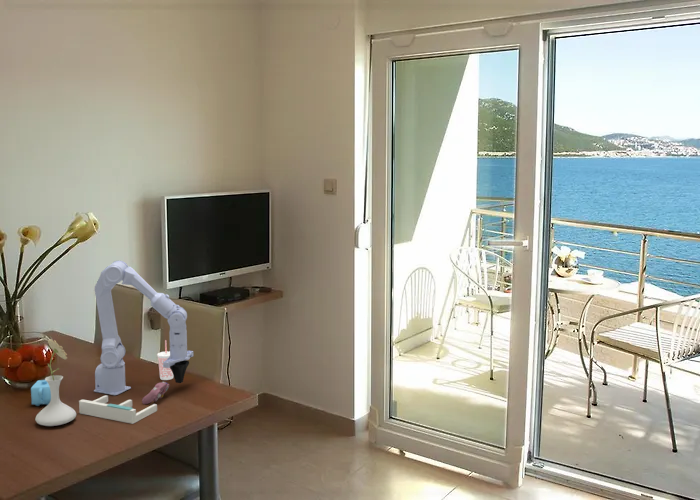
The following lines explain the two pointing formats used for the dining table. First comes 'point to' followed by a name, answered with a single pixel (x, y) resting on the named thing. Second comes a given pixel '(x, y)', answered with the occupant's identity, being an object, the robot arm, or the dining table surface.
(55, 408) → the flower in vase
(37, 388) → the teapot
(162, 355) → the beverage cup
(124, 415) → the comb rack
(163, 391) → the video game controller
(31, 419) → the dining table surface
